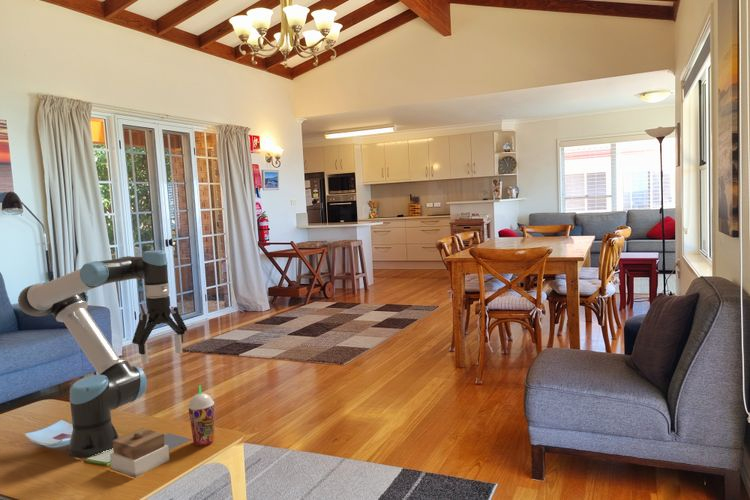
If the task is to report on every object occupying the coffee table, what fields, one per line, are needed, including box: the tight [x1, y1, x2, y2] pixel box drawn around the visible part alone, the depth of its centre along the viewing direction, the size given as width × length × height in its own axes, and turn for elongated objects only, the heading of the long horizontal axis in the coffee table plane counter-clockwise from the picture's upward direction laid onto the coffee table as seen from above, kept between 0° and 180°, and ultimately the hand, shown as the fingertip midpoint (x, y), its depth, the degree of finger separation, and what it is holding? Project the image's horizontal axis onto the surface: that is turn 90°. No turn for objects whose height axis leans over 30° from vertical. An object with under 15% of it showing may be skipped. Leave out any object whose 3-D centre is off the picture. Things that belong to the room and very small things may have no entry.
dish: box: [109, 445, 170, 479], centre depth 174 cm, size 12×12×5 cm
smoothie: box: [187, 385, 215, 447], centre depth 187 cm, size 8×8×20 cm
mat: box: [164, 432, 193, 451], centre depth 189 cm, size 12×12×1 cm
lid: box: [112, 427, 165, 460], centre depth 173 cm, size 10×10×5 cm
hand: (162, 358), depth 190 cm, fingers open, 13 cm apart
